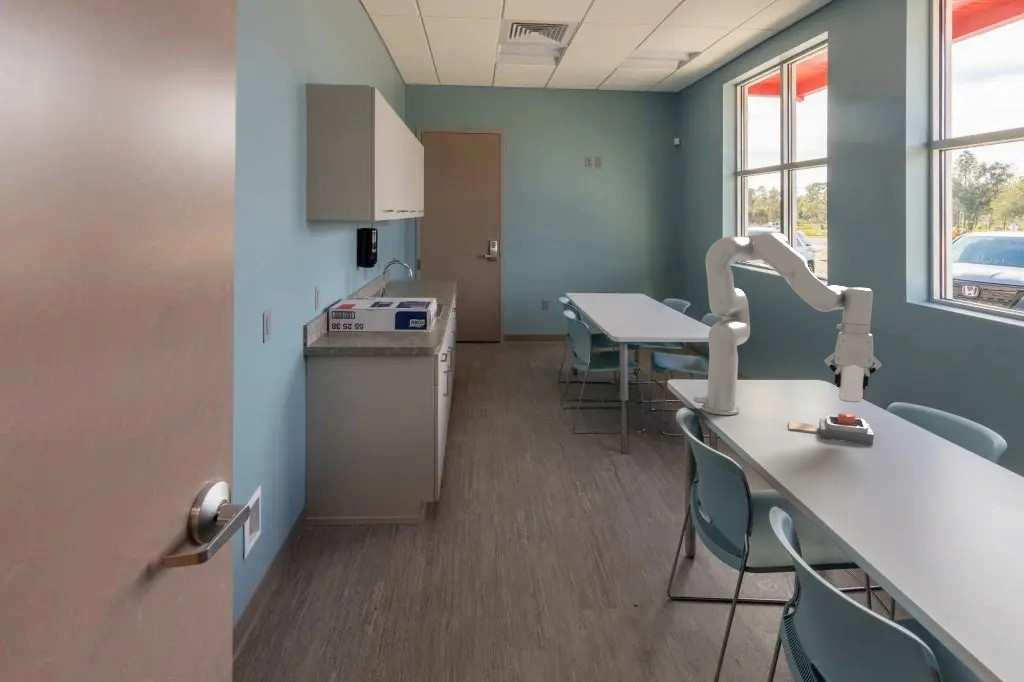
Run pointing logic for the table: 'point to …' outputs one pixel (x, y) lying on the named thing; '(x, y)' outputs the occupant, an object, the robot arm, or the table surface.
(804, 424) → the coaster
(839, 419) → the button
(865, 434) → the white shallow box
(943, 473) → the table surface
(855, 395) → the can
